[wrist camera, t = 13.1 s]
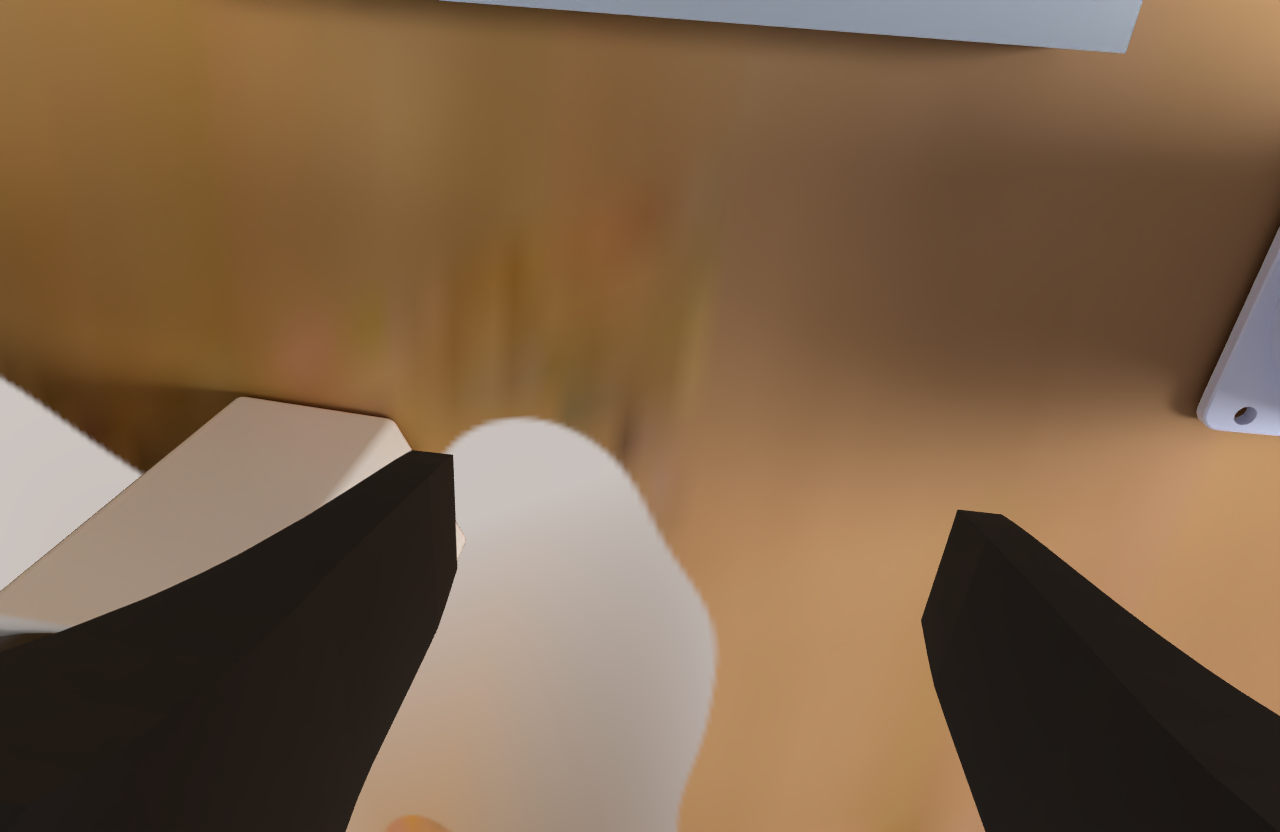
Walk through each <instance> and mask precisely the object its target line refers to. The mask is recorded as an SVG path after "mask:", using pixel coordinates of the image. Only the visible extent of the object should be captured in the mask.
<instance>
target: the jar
mask: <svg viewBox="0 0 1280 832" xmlns="http://www.w3.org/2000/svg"><path fill="white" fill-rule="evenodd" d="M411 450H412V449H411V448H410V446H409V444H408V443H407V441H406V439H405V438H404V436H403V434H402V433H401V431H400V429H399V428H398V426H397V424H396V423H395V422H394V421H393V420H391V419H388V418H382V417H375V416H368V415H361V414H355V413H348V412H342V411H335V410H328V409H322V408H315V407H309V406H302V405H296V404H289V403H283V402H276V401H270V400H263V399H257V398H251V397H238V398H236V399H235V400H233V401H232V402H231V403H230V404H229V405H227V406H226V407H225V408H224V409H222V410H221V411H220V412H219V413H218V414H216V415H215V416H214V417H213V418H211V419H210V420H209V421H208V422H207V423H205V424H204V425H203V426H202V427H200V428H199V429H198V430H197V431H196V432H194V433H193V434H192V435H191V436H189V437H188V438H187V439H186V440H185V441H183V442H182V443H181V444H180V445H178V446H177V447H176V448H175V449H174V450H172V451H171V452H170V453H169V454H167V455H166V456H165V457H164V458H163V459H161V460H160V461H159V462H158V463H156V464H155V465H154V466H153V467H152V468H150V469H149V470H148V471H147V472H145V473H144V474H143V475H142V476H141V477H139V478H138V479H137V480H136V481H134V482H133V483H132V484H131V485H130V486H128V487H127V488H126V489H125V490H123V491H122V492H121V493H120V494H119V495H118V496H116V497H115V498H114V499H112V500H111V501H110V502H109V503H108V504H106V505H105V506H104V507H103V508H102V509H100V510H99V511H98V512H97V513H95V514H94V515H93V516H92V517H91V518H89V519H88V520H87V521H86V522H84V523H83V524H82V525H81V526H80V527H78V528H77V529H76V530H75V531H73V532H72V533H71V534H70V535H68V536H67V537H66V538H65V539H64V540H62V541H61V542H60V543H59V544H58V545H56V546H55V547H54V548H53V549H51V550H50V551H49V552H48V553H47V554H45V555H44V556H43V557H42V558H40V559H39V560H38V561H37V562H35V563H34V564H33V565H32V566H31V567H30V568H28V569H27V570H26V571H25V572H23V573H22V574H21V575H20V576H18V577H17V578H16V579H15V580H13V581H12V582H11V583H10V584H9V585H8V586H6V587H5V588H4V589H2V590H1V591H0V652H2V651H5V650H7V649H10V648H13V647H16V646H19V645H22V644H25V643H28V642H31V641H34V640H37V639H40V638H43V637H46V636H49V635H52V634H54V633H57V632H60V631H63V630H65V629H68V628H70V627H73V626H76V625H78V624H81V623H83V622H86V621H88V620H91V619H93V618H96V617H99V616H101V615H104V614H106V613H109V612H111V611H114V610H117V609H119V608H122V607H124V606H127V605H129V604H132V603H134V602H137V601H140V600H142V599H145V598H147V597H149V596H152V595H154V594H156V593H159V592H161V591H163V590H165V589H167V588H170V587H172V586H174V585H176V584H178V583H180V582H183V581H185V580H187V579H189V578H191V577H194V576H196V575H198V574H200V573H202V572H204V571H206V570H208V569H210V568H212V567H214V566H216V565H218V564H220V563H222V562H224V561H226V560H228V559H230V558H232V557H234V556H236V555H238V554H240V553H242V552H244V551H245V550H247V549H249V548H251V547H252V546H254V545H256V544H258V543H259V542H261V541H263V540H265V539H267V538H268V537H270V536H272V535H274V534H275V533H277V532H279V531H281V530H282V529H284V528H286V527H288V526H290V525H291V524H293V523H295V522H297V521H298V520H300V519H302V518H304V517H305V516H307V515H309V514H310V513H312V512H313V511H315V510H317V509H318V508H320V507H321V506H323V505H325V504H326V503H328V502H329V501H331V500H333V499H334V498H336V497H337V496H339V495H341V494H342V493H344V492H345V491H347V490H349V489H350V488H352V487H353V486H355V485H356V484H358V483H359V482H361V481H363V480H364V479H366V478H367V477H369V476H370V475H372V474H373V473H375V472H377V471H378V470H380V469H381V468H383V467H384V466H386V465H387V464H389V463H391V462H392V461H394V460H395V459H397V458H399V457H400V456H402V455H404V454H406V453H408V452H409V451H411ZM465 541H466V539H465V536H464V534H463V533H462V531H461V529H460V527H459V526H458V524H457V523H456V546H457V560H458V558H459V556H460V554H461V552H462V549H463V547H464V545H465Z"/></svg>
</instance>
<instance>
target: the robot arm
mask: <svg viewBox="0 0 1280 832" xmlns="http://www.w3.org/2000/svg"><path fill="white" fill-rule="evenodd" d="M1244 407H1247V410H1246V411H1245V412H1244V414H1242V415H1241V416H1239V417H1235V418H1234V416H1235V414H1236V413H1237V412H1238V410H1240V409H1242V408H1244ZM1196 413H1197V417H1198V419H1199V420H1200V421H1201V422H1202V423H1204V424H1205V425H1206V426H1207V427H1208V428H1210V429H1214V430H1219V431H1230V432H1240V433H1251V434H1262V435H1273V436H1280V227H1279V229H1278V231H1277V233H1276V236H1275V238H1274V240H1273V242H1272V244H1271V247H1270V249H1269V251H1268V253H1267V255H1266V258H1265V260H1264V262H1263V264H1262V266H1261V269H1260V271H1259V273H1258V275H1257V277H1256V280H1255V282H1254V284H1253V286H1252V288H1251V290H1250V293H1249V295H1248V297H1247V299H1246V301H1245V304H1244V306H1243V308H1242V310H1241V312H1240V315H1239V317H1238V319H1237V321H1236V323H1235V326H1234V328H1233V330H1232V332H1231V334H1230V337H1229V339H1228V341H1227V343H1226V345H1225V348H1224V350H1223V352H1222V354H1221V356H1220V358H1219V361H1218V363H1217V365H1216V367H1215V369H1214V372H1213V374H1212V376H1211V378H1210V380H1209V383H1208V385H1207V387H1206V389H1205V391H1204V394H1203V396H1202V398H1201V400H1200V402H1199V405H1198V407H1197V412H1196ZM454 495H455V494H454V468H453V455H450V454H441V453H432V452H422V451H413V450H411V451H409V452H408V453H406V454H404V455H402V456H400V457H399V458H397V459H395V460H394V461H392V462H391V463H389V464H387V465H386V466H384V467H383V468H381V469H380V470H378V471H377V472H375V473H373V474H372V475H370V476H369V477H367V478H366V479H364V480H363V481H361V482H359V483H358V484H356V485H355V486H353V487H352V488H350V489H349V490H347V491H345V492H344V493H342V494H341V495H339V496H337V497H336V498H334V499H333V500H331V501H329V502H328V503H326V504H325V505H323V506H321V507H320V508H318V509H317V510H315V511H313V512H312V513H310V514H309V515H307V516H305V517H304V518H302V519H300V520H298V521H297V522H295V523H293V524H291V525H290V526H288V527H286V528H284V529H282V530H281V531H279V532H277V533H275V534H274V535H272V536H270V537H268V538H267V539H265V540H263V541H261V542H259V543H258V544H256V545H254V546H252V547H251V548H249V549H247V550H245V551H244V552H242V553H240V554H238V555H236V556H234V557H232V558H230V559H228V560H226V561H224V562H222V563H220V564H218V565H216V566H214V567H212V568H210V569H208V570H206V571H204V572H202V573H200V574H198V575H196V576H194V577H191V578H189V579H187V580H185V581H183V582H180V583H178V584H176V585H174V586H172V587H170V588H167V589H165V590H163V591H161V592H159V593H156V594H154V595H152V596H149V597H147V598H145V599H142V600H140V601H137V602H134V603H132V604H129V605H127V606H124V607H122V608H119V609H117V610H114V611H111V612H109V613H106V614H104V615H101V616H99V617H96V618H93V619H91V620H88V621H86V622H83V623H81V624H78V625H76V626H73V627H70V628H68V629H65V630H63V631H60V632H57V633H54V634H52V635H49V636H46V637H43V638H40V639H37V640H34V641H31V642H28V643H25V644H22V645H19V646H16V647H13V648H10V649H7V650H5V651H2V652H0V832H345V831H346V829H347V826H348V823H349V821H350V818H351V815H352V812H353V810H354V807H355V804H356V801H357V799H358V796H359V794H360V792H361V789H362V787H363V785H364V782H365V780H366V778H367V775H368V773H369V771H370V768H371V766H372V764H373V762H374V760H375V758H376V756H377V754H378V752H379V750H380V747H381V745H382V743H383V741H384V739H385V737H386V735H387V733H388V731H389V729H390V727H391V725H392V723H393V721H394V718H395V717H396V714H397V712H398V710H399V708H400V706H401V704H402V702H403V700H404V698H405V696H406V694H407V692H408V690H409V688H410V686H411V683H412V681H413V679H414V677H415V675H416V673H417V671H418V669H419V667H420V665H421V663H422V661H423V658H424V656H425V654H426V652H427V650H428V648H429V646H430V644H431V642H432V639H433V637H434V635H435V633H436V630H437V629H438V626H439V623H440V620H441V617H442V614H443V611H444V608H445V605H446V602H447V599H448V596H449V593H450V590H451V587H452V583H453V580H454V577H455V574H456V571H457V546H456V520H455V496H454ZM921 622H922V628H923V633H924V639H925V644H926V649H927V655H928V660H929V664H930V669H931V673H932V678H933V682H934V686H935V689H936V693H937V696H938V699H939V702H940V704H941V707H942V710H943V713H944V716H945V719H946V722H947V725H948V728H949V731H950V733H951V736H952V739H953V742H954V745H955V748H956V750H957V753H958V756H959V759H960V762H961V764H962V767H963V770H964V773H965V776H966V778H967V781H968V784H969V787H970V790H971V792H972V795H973V798H974V801H975V804H976V807H977V809H978V812H979V815H980V818H981V821H982V823H983V826H984V829H985V832H1280V716H1279V715H1277V714H1276V713H1274V712H1273V711H1271V710H1269V709H1268V708H1266V707H1265V706H1263V705H1261V704H1260V703H1258V702H1257V701H1255V700H1253V699H1252V698H1250V697H1249V696H1247V695H1245V694H1244V693H1242V692H1241V691H1239V690H1238V689H1236V688H1235V687H1233V686H1232V685H1230V684H1229V683H1227V682H1226V681H1224V680H1223V679H1221V678H1220V677H1218V676H1217V675H1215V674H1214V673H1212V672H1211V671H1209V670H1208V669H1206V668H1205V667H1203V666H1202V665H1201V664H1199V663H1198V662H1196V661H1195V660H1194V659H1192V658H1191V657H1189V656H1188V655H1187V654H1185V653H1184V652H1182V651H1181V650H1180V649H1178V648H1177V647H1175V646H1174V645H1173V644H1171V643H1170V642H1168V641H1167V640H1166V639H1164V638H1163V637H1161V636H1160V635H1159V634H1157V633H1156V632H1155V631H1153V630H1152V629H1151V628H1149V627H1148V626H1147V625H1145V624H1144V623H1142V622H1141V621H1140V620H1138V619H1137V618H1136V617H1134V616H1133V615H1132V614H1131V613H1129V612H1128V611H1127V610H1125V609H1124V608H1123V607H1121V606H1120V605H1119V604H1118V603H1116V602H1115V601H1114V600H1112V599H1111V598H1110V597H1109V596H1107V595H1106V594H1105V593H1103V592H1102V591H1101V590H1100V589H1098V588H1097V587H1096V586H1095V585H1093V584H1092V583H1091V582H1089V581H1088V580H1087V579H1086V578H1084V577H1083V576H1082V575H1081V574H1079V573H1078V572H1077V571H1076V570H1074V569H1073V568H1072V567H1071V566H1069V565H1068V564H1067V563H1066V562H1064V561H1063V560H1062V559H1061V558H1059V557H1058V556H1057V555H1056V554H1054V553H1053V552H1052V551H1050V550H1049V549H1048V548H1047V547H1045V546H1044V545H1043V544H1042V543H1040V542H1039V541H1038V540H1036V539H1035V538H1034V537H1033V536H1031V535H1030V534H1029V533H1027V532H1026V531H1025V530H1023V529H1022V528H1021V527H1019V526H1018V525H1016V524H1015V523H1014V522H1012V521H1011V520H1009V519H1008V518H1006V517H1005V516H1003V515H1001V514H992V513H983V512H974V511H965V510H957V513H956V516H955V519H954V523H953V526H952V529H951V532H950V535H949V538H948V541H947V544H946V547H945V550H944V553H943V556H942V559H941V562H940V565H939V568H938V571H937V574H936V577H935V580H934V583H933V586H932V589H931V592H930V595H929V598H928V601H927V604H926V607H925V610H924V613H923V616H922V619H921Z"/></svg>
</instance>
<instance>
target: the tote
mask: <svg viewBox="0 0 1280 832" xmlns="http://www.w3.org/2000/svg"><path fill="white" fill-rule="evenodd" d="M441 1H454V2H467V3H479V4H492V5H505V6H518V7H531V8H544V9H557V10H570V11H583V12H596V13H609V14H622V15H635V16H648V17H660V18H673V19H686V20H699V21H712V22H725V23H738V24H751V25H764V26H777V27H790V28H803V29H816V30H828V31H841V32H854V33H867V34H880V35H893V36H906V37H919V38H932V39H945V40H958V41H971V42H984V43H996V44H1009V45H1022V46H1035V47H1048V48H1061V49H1074V50H1087V51H1100V52H1113V53H1126V50H1127V47H1128V44H1129V41H1130V38H1131V35H1132V32H1133V29H1134V26H1135V23H1136V20H1137V17H1138V14H1139V11H1140V8H1141V5H1142V1H1143V0H441Z"/></svg>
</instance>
